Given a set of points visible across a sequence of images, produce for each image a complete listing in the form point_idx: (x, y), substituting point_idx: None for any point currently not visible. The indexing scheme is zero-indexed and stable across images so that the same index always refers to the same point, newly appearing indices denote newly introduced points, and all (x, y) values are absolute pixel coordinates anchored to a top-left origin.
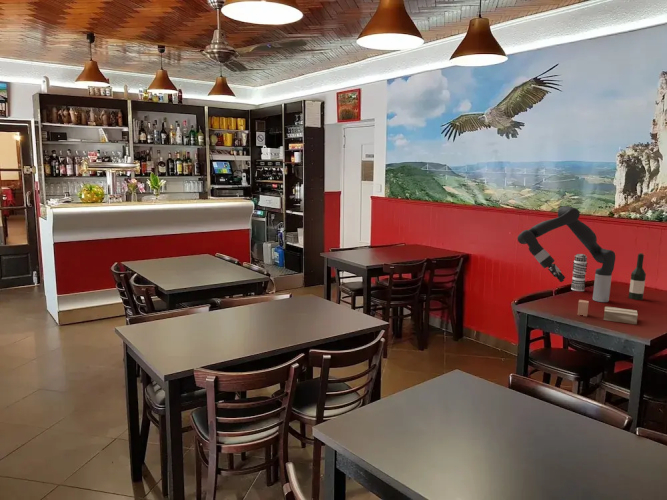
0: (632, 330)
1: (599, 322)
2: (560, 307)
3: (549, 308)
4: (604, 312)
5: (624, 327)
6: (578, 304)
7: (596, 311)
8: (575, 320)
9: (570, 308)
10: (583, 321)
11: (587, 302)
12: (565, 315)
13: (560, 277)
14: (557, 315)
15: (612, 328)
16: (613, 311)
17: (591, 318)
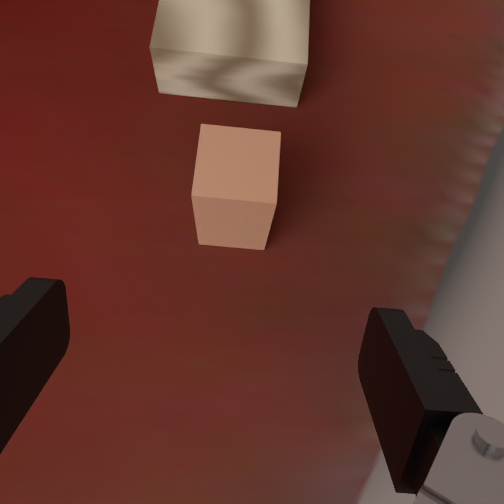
0: (435, 7)
1: (376, 133)
2: (68, 373)
3: (149, 471)
4: (305, 71)
5: (401, 31)
6: (273, 214)
7: (89, 127)
8: (423, 265)
9: (71, 293)
10: (414, 218)
11: (267, 136)
12: (323, 331)
13: (459, 385)
14: (360, 392)
15: (463, 84)
16: (284, 18)
17: (305, 168)
